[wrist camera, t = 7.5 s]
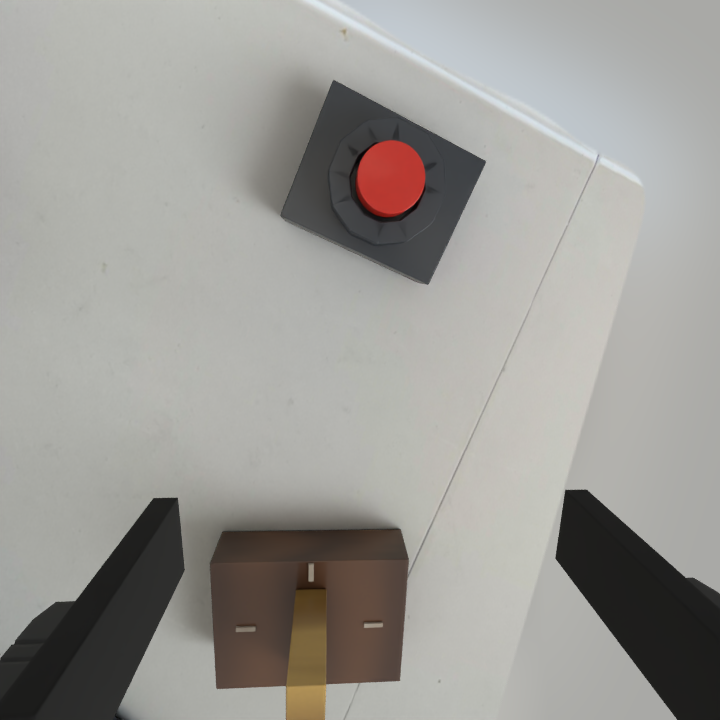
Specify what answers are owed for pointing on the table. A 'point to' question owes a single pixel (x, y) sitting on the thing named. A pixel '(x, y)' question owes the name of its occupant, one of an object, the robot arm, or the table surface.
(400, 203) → the button
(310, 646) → the thumb turn
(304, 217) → the grey square base
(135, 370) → the table surface
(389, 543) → the plate
